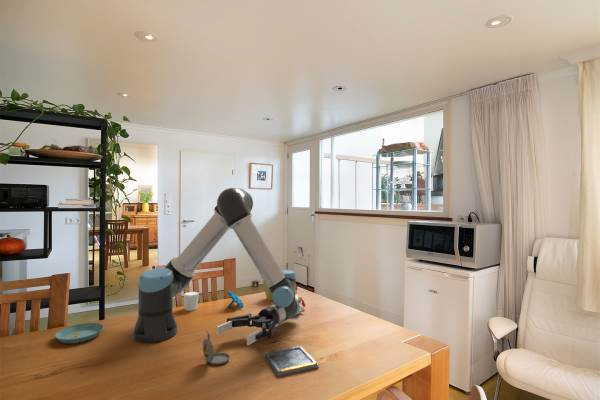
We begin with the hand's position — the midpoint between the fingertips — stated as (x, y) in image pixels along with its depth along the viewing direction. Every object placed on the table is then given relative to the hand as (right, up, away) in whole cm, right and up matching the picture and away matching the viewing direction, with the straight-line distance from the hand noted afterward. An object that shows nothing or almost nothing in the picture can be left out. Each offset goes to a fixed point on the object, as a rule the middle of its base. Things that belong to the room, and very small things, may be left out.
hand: (231, 335), depth 107 cm
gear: (-8, -6, +47) cm, 48 cm away
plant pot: (+9, -6, +59) cm, 60 cm away
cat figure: (+20, -7, +46) cm, 51 cm away
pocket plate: (+19, -6, -5) cm, 21 cm away
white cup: (-28, -6, +43) cm, 52 cm away
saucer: (-58, -6, +11) cm, 59 cm away
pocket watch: (-4, -6, -5) cm, 9 cm away
